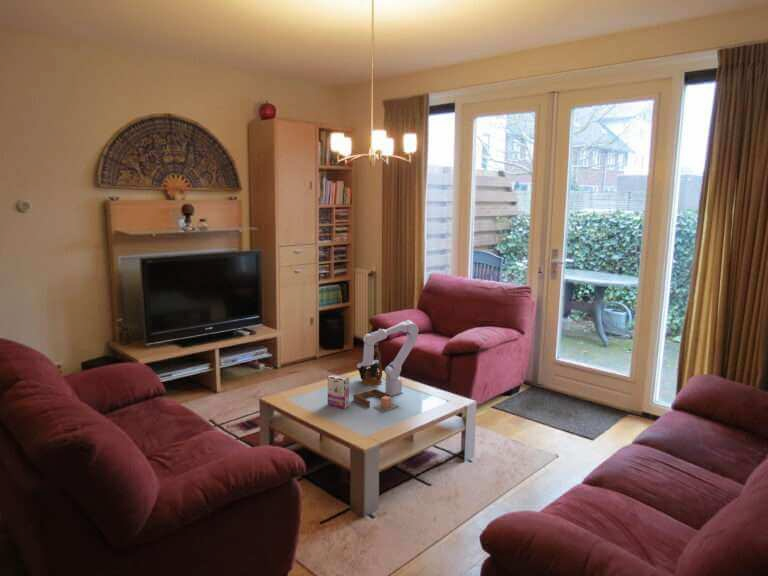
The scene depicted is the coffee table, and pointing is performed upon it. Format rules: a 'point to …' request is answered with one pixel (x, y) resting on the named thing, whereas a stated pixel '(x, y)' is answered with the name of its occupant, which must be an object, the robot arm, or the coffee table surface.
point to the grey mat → (385, 408)
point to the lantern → (377, 378)
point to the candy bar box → (338, 391)
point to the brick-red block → (386, 402)
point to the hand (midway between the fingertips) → (367, 377)
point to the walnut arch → (360, 396)
